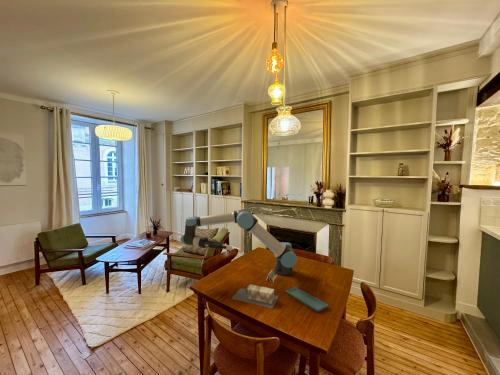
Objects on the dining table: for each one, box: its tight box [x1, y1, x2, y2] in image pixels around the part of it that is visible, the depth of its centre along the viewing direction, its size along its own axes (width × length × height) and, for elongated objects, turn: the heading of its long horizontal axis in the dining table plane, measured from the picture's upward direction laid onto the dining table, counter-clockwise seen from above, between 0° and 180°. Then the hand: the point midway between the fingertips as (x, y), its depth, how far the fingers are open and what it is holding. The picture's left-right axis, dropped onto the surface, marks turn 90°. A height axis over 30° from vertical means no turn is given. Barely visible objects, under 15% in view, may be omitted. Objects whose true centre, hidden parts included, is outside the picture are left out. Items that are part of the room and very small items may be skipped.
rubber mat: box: [231, 288, 279, 310], centre depth 138 cm, size 26×14×1 cm, turn 68°
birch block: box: [245, 284, 275, 304], centre depth 137 cm, size 6×6×16 cm
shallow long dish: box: [285, 286, 329, 313], centre depth 137 cm, size 26×9×2 cm, turn 34°
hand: (231, 248), depth 149 cm, fingers closed
